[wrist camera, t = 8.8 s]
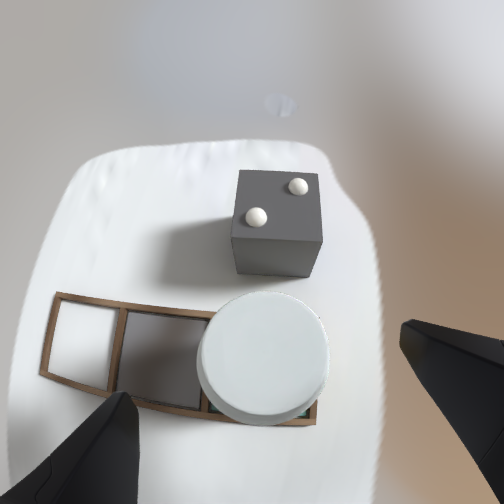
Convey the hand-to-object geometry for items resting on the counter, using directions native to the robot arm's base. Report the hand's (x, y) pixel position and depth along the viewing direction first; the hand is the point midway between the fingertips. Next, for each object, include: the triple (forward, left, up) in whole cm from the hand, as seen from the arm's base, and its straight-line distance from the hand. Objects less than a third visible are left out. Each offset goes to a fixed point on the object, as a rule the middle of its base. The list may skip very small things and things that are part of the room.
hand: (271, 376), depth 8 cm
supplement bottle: (+1, 0, -10) cm, 10 cm away
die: (+9, -4, -10) cm, 14 cm away
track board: (+3, +6, -10) cm, 12 cm away
